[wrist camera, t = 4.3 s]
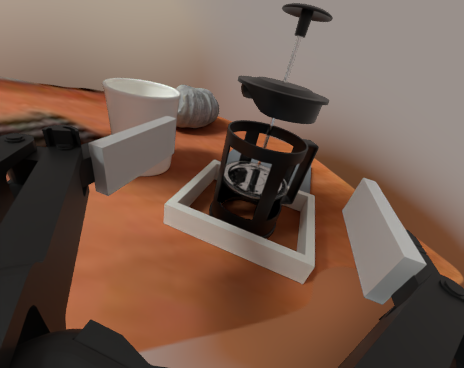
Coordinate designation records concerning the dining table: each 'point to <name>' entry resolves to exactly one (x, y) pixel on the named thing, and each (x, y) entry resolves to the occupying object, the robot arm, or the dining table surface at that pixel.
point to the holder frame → (239, 239)
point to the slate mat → (235, 156)
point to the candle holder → (139, 107)
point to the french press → (283, 164)
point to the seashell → (196, 107)
